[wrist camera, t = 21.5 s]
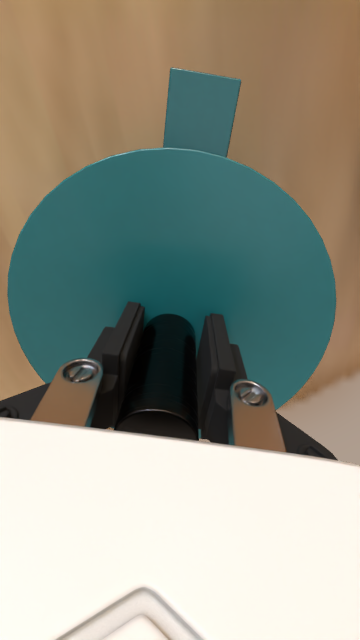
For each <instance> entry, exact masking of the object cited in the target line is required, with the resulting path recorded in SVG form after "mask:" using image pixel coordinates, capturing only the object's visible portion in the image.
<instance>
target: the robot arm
mask: <svg viewBox="0 0 360 640" xmlns="http://www.w3.org/2000/svg"><path fill="white" fill-rule="evenodd" d="M144 314H145V307H142V306H141V303H136V302H129V301H128V303H127V305H126V307H125V308H124V310H123V312H122V314H121V316H120V318H119V320H118V322H117V324H116V326H115V328H114V327H107V326H106V327H105V328H104V329H103V331H102V332H101V334H100V336H99V338H98V339H97V341H96V343H95V344H94V346H93V348H92V350H91V351H90V353H89V355H88V357H87V358H76V359H72V360H70V361H67V362H66V363H64V364H63V365H62V366H61V367H60V368H59V370H58V371H57V373H56V375H55V377H54V378H53V380H52V382H50V383H48V384H45V385H42V386H40V387H37V388H34V389H31V390H29V391H26V392H23V393H21V394H18V395H15V396H13V397H10V398H7V399H5V400H2V401H0V640H360V465H358V464H354V463H349V462H343V461H338V460H337V459H336V458H335V456H334V455H333V454H332V453H331V452H330V451H329V450H327V449H326V448H325V447H324V446H322V445H321V444H320V443H318V442H317V441H315V440H314V439H313V438H311V437H310V436H308V435H307V434H306V433H304V432H303V431H301V430H300V429H299V428H297V427H296V426H295V425H293V424H292V423H290V422H289V421H288V420H286V419H285V418H284V417H282V416H281V415H279V414H278V413H277V412H276V410H275V407H274V403H273V399H272V396H271V394H270V392H269V391H268V390H267V389H266V388H265V387H264V386H263V385H261V384H260V383H257V382H255V381H252V380H249V379H248V378H247V374H246V371H245V367H244V364H243V360H242V357H241V353H240V349H239V346H238V345H237V344H230V342H229V338H228V334H227V329H226V325H225V321H224V316H223V315H221V314H214V313H211V314H210V316H206V317H205V321H204V325H203V330H202V335H201V340H200V344H199V349H198V354H197V359H196V366H197V398H198V429H201V439H208V440H209V441H210V442H202V441H195V440H187V439H179V438H171V437H163V436H155V435H147V434H139V433H131V432H123V431H115V430H107V428H109V427H113V428H114V427H115V424H116V421H117V417H118V414H119V411H120V408H121V404H122V401H123V398H124V394H125V391H126V388H127V384H128V381H129V378H130V375H131V371H132V368H133V365H134V361H135V358H136V355H137V351H138V348H139V345H140V342H141V338H142V335H143V326H144Z"/></svg>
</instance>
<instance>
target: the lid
mask: <svg viewBox="0 0 360 640" xmlns="http://www.w3.org/2000/svg"><path fill="white" fill-rule="evenodd" d="M128 301H129V302H136V303H141V306H142V307H145V314H144V326H143V335H142V338H141V342H140V345H139V348H138V351H137V355H136V358H135V361H134V365H133V368H132V371H131V375H130V378H129V381H128V384H127V388H126V391H125V394H124V398H123V401H122V404H121V408H120V411H119V414H118V417H117V421H116V424H115V427H114V430H115V431H123V432H131V433H139V434H147V435H155V436H163V437H171V438H179V439H187V440H195V441H199V439H200V438H201V429H198V398H197V366H196V359H197V354H198V349H199V344H200V340H201V335H202V330H203V325H204V321H205V317H206V316H210V314H211V313H214V314H221V315H223V316H224V321H225V325H226V329H227V334H228V338H229V342H230V344H237V345H238V346H239V349H240V353H241V357H242V360H243V364H244V367H245V371H246V374H247V378H248V379H249V380H252V381H255V382H257V383H260V384H261V385H263V386H264V387H265V388H266V389H267V390H268V391H269V392H270V394H271V396H272V399H273V403H274V407H275V410H277V409H278V408H279V407H281V406H282V405H283V404H284V403H286V402H287V401H288V400H289V399H291V398H292V397H293V396H294V395H295V394H296V393H297V392H298V391H299V390H300V389H301V388H302V387H303V385H304V384H305V383H306V382H307V380H308V379H309V378H310V376H311V375H312V374H313V372H314V371H315V369H316V367H317V366H318V364H319V362H320V361H321V359H322V357H323V355H324V352H325V350H326V347H327V345H328V343H329V340H330V336H331V333H332V329H333V325H334V319H335V309H336V289H335V279H334V274H333V270H332V265H331V260H330V258H329V255H328V253H327V250H326V248H325V245H324V243H323V240H322V238H321V236H320V235H319V233H318V231H317V230H316V228H315V226H314V225H313V223H312V221H311V220H310V218H309V217H308V216H307V215H306V213H305V212H304V211H303V210H302V209H301V207H300V206H299V205H298V204H297V203H296V202H295V200H294V199H293V198H292V197H290V196H289V195H288V194H287V193H286V192H285V191H283V190H282V189H281V188H280V187H279V186H278V185H276V184H275V183H274V182H273V181H271V180H269V179H268V178H266V177H265V176H263V175H261V174H260V173H258V172H256V171H255V170H253V169H252V168H250V167H247V166H245V165H243V164H240V163H238V162H235V161H233V160H231V159H228V158H226V157H223V156H219V155H215V154H211V153H207V152H203V151H199V150H191V149H179V148H168V147H167V148H153V149H139V150H135V151H130V152H126V153H122V154H117V155H113V156H110V157H108V158H105V159H103V160H100V161H98V162H95V163H93V164H90V165H88V166H86V167H84V168H83V169H81V170H79V171H78V172H76V173H75V174H73V175H71V176H70V177H68V178H66V179H65V180H63V181H62V182H61V183H60V184H59V185H58V186H57V187H55V188H54V189H53V190H52V191H51V192H50V193H49V194H48V195H46V196H45V197H44V199H43V200H42V201H41V202H40V204H39V205H38V206H37V207H36V209H35V210H34V211H33V212H32V213H31V215H30V216H29V218H28V220H27V222H26V224H25V225H24V227H23V229H22V231H21V232H20V234H19V237H18V240H17V242H16V245H15V248H14V251H13V253H12V257H11V262H10V268H9V273H8V303H9V311H10V316H11V320H12V324H13V328H14V331H15V334H16V336H17V339H18V341H19V344H20V346H21V348H22V350H23V352H24V354H25V355H26V357H27V359H28V361H29V362H30V364H31V365H32V367H33V368H34V370H35V371H36V372H37V374H38V375H39V376H40V378H41V379H42V380H43V381H44V382H45V383H46V384H48V383H50V382H52V380H53V378H54V377H55V375H56V373H57V371H58V370H59V368H60V367H61V366H62V365H63V364H64V363H66V362H67V361H70V360H72V359H76V358H87V357H88V355H89V353H90V351H91V350H92V348H93V346H94V344H95V343H96V341H97V339H98V338H99V336H100V334H101V332H102V331H103V329H104V328H105V327H106V326H107V327H114V328H115V326H116V324H117V322H118V320H119V318H120V316H121V314H122V312H123V310H124V308H125V307H126V305H127V303H128ZM111 428H113V427H111Z"/></svg>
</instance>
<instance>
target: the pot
mask: <svg viewBox="0 0 360 640" xmlns="http://www.w3.org/2000/svg"><path fill="white" fill-rule="evenodd" d="M240 85H241V80H240V79H236V78H230V77H224V76H218V75H213V74H207V73H201V72H195V71H190V70H184V69H178V68H171V69H170V77H169V88H168V99H167V110H166V121H165V132H164V143H163V148H167V147H168V148H179V149H191V150H199V151H203V152H207V153H211V154H215V155H219V156H223V157H226V158H227V153H228V148H229V143H230V137H231V132H232V127H233V122H234V116H235V111H236V106H237V101H238V96H239V90H240Z"/></svg>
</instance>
